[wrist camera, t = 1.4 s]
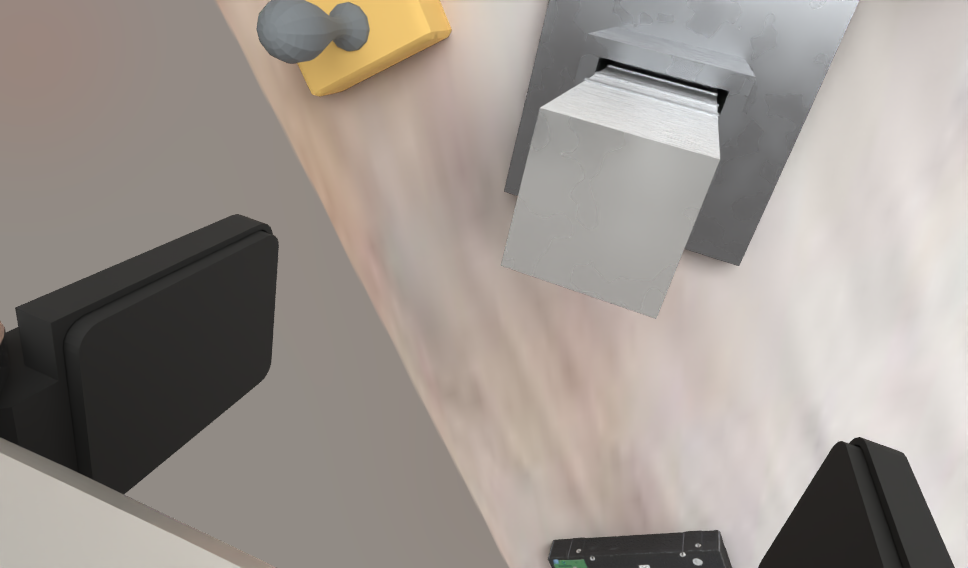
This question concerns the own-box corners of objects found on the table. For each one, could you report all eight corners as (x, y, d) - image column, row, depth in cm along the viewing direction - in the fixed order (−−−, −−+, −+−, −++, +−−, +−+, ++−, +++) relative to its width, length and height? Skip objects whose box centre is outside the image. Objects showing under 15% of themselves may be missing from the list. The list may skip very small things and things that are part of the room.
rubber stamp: (340, 92, 46) (231, 118, 35) (304, 14, 44) (179, 17, 34) (454, 34, 41) (368, 44, 31) (417, -55, 40) (315, -75, 30)
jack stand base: (573, -69, 37) (519, -98, 26) (854, -6, 34) (918, -10, 23) (512, 184, 44) (450, 239, 34) (737, 255, 41) (746, 339, 31)
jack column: (628, 51, 36) (537, 103, 17) (717, 74, 35) (725, 156, 16) (602, 137, 39) (496, 267, 20) (685, 161, 38) (658, 323, 19)
